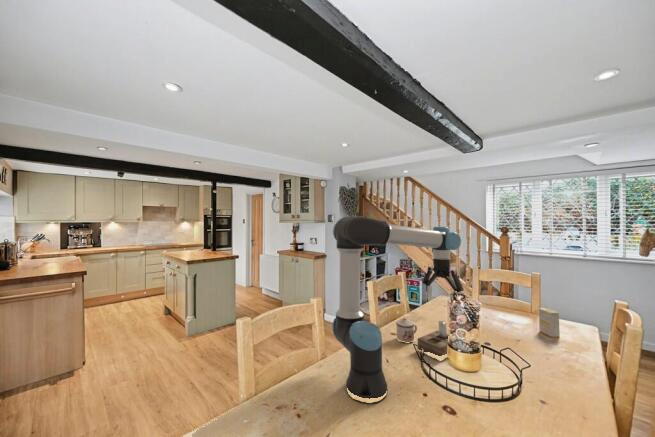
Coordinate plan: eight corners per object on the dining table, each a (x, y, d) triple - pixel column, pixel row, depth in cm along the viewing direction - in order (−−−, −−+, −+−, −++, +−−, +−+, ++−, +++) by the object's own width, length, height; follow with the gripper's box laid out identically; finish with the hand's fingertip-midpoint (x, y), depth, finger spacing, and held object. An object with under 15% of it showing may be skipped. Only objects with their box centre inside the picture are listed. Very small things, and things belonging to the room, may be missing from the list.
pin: (444, 349, 126) (443, 324, 126) (437, 346, 128) (437, 322, 129) (448, 347, 128) (447, 322, 128) (441, 344, 130) (441, 320, 131)
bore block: (440, 361, 117) (440, 348, 117) (417, 351, 127) (417, 338, 127) (460, 351, 125) (460, 338, 126) (437, 342, 135) (437, 330, 136)
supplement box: (560, 337, 139) (559, 312, 139) (551, 337, 139) (550, 312, 139) (547, 331, 147) (546, 307, 147) (538, 331, 147) (538, 307, 147)
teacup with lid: (403, 345, 133) (403, 322, 133) (392, 338, 141) (392, 316, 141) (422, 341, 137) (422, 318, 137) (411, 334, 145) (410, 313, 146)
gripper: (471, 260, 120) (472, 307, 120) (424, 255, 141) (424, 295, 141) (462, 262, 116) (462, 310, 116) (415, 256, 137) (415, 297, 136)
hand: (442, 302), depth 128 cm, fingers open, 13 cm apart
